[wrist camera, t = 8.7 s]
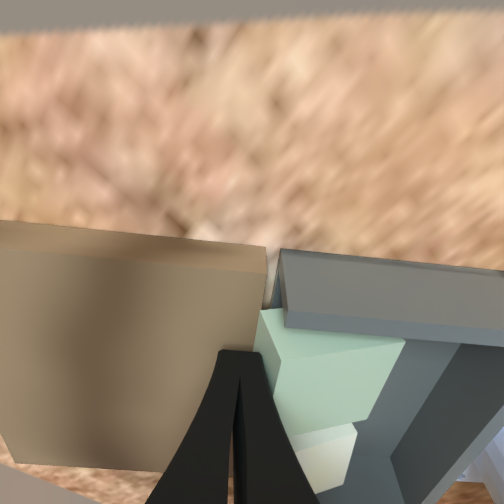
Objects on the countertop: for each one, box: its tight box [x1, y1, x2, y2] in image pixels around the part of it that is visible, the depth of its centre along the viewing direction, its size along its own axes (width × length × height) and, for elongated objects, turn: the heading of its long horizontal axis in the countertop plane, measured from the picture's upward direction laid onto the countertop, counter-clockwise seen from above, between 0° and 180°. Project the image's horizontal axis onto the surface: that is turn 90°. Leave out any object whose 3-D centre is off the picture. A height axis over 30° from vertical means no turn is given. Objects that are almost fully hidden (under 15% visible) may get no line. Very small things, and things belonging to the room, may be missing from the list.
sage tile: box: [253, 308, 406, 437], centre depth 12 cm, size 4×4×2 cm
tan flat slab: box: [0, 220, 267, 477], centre depth 14 cm, size 10×12×2 cm
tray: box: [269, 249, 504, 504], centre depth 14 cm, size 8×12×3 cm, turn 173°
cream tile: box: [288, 423, 357, 494], centre depth 14 cm, size 4×4×2 cm
